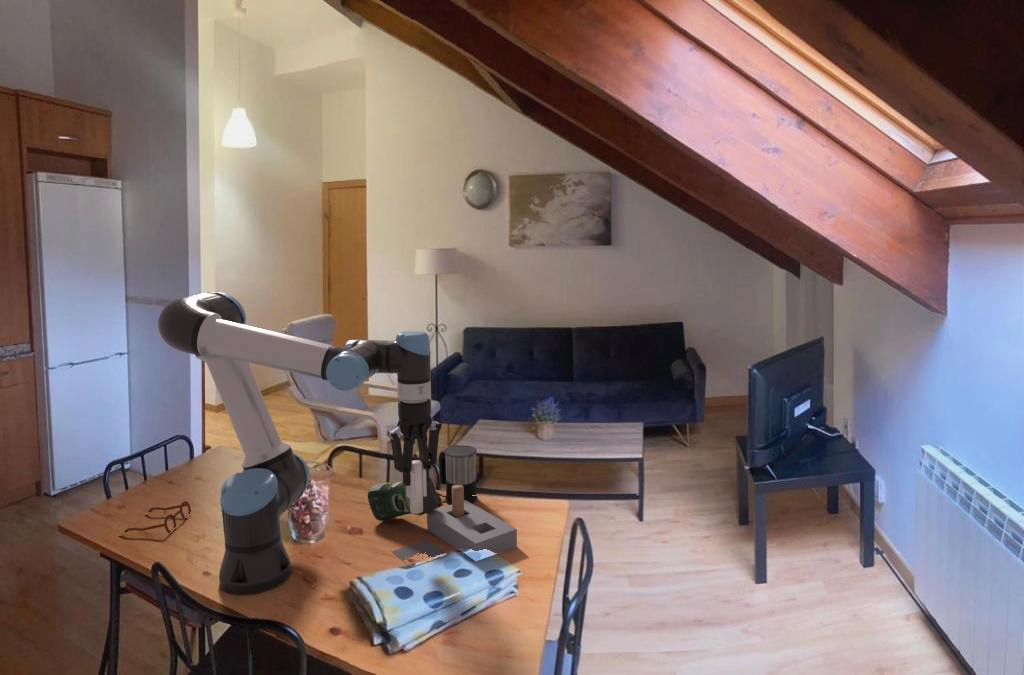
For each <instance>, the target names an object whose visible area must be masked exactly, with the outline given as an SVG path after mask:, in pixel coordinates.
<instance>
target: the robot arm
mask: <svg viewBox="0 0 1024 675" xmlns="http://www.w3.org/2000/svg"><path fill="white" fill-rule="evenodd" d="M245 312H246V311H245V309H244V307H243V305H242V304H241V303H240V301H238V299H237V298H236V297H234V296H232V295H230V294H228V293H226V292H221V291H220V292H219V291H216V292H214V291H207V292H203V293H199V294H196V295H191V296H185V297H180V298H176V299H174V300H172V301H171V302H169V303H168V304H167V305H165V306H164V307H163V309H162V310H161V311H160V313H159V314H160V315H159V316H158V321H157V325H158V332H159V334H160V336H161V338H162V339H163V341H164V342H165V343H166V344H167V345H168V346H170V347H171V348H172V349H175V350H176V351H179V352H183V353H187V354H191V355H194V356H195V357H196V359H197V360H199V361H202V362H204V363H206V365H207V366H206V367H207V368H208V369H209V373H210V375H211V378H212V380H213V382H214V385H215V387H216V389H217V391H218V392H217V393H219V396H220V399H221V401H222V404H223V405H224V408H225V411H226V413H227V415H228V418H229V420H230V422H231V425H232V427H233V430H234V433H235V434H236V437H237V439H238V442H239V444H240V447H241V449H242V452H243V454H244V460H243V462H242V465H241V467H242V469H243V470H242V471H241V472H236V473H235V474H232V475H231V476H229V477H228V478H227V479H226V480H225V481H224V482H223V483H222V485H221V489H220V500H219V501H220V507H221V508H220V509H221V516H222V527H223V528H222V529H223V537H224V548H225V549H224V554H223V557H222V560H221V564H220V569H219V573H218V580H219V586H220V588H221V590H222V591H225V592H226V593H229V594H233V595H253V594H259V593H262V592H267V591H269V590H273V589H274V588H277V587H278V586H281V584H283V583H285V582H286V581H287V580H288V579H289V578H290V576H291V574H292V561H291V558H290V556H289V554H288V552H287V549H286V548H285V546H284V543H283V541H282V537H281V536H282V535H281V534H282V533H281V520H280V517H281V516H282V515H283V514H284V513H285V512H287V511H288V509H290V507H291V506H293V504H294V503H296V502H298V501H299V500H300V499H301V498H302V496H303V494H304V493H305V492H304V491H306V490H307V488H308V486H309V483H310V477H311V476H310V469H309V466H308V463H307V462H306V461H305V460H304V458H303V457H302V456H299V455H298V454H297V453H295V452H293V449H292V447H291V445H290V444H289V443H286V442H283V441H282V440H281V438H280V436H279V433H278V430H277V428H276V426H275V423H274V421H273V419H272V416H271V414H270V411H269V408H268V406H267V404H266V401H265V399H264V396H263V394H262V391H261V389H260V387H259V384H258V382H257V380H256V377H255V375H254V372H253V369H252V367H251V365H250V364H254V365H257V366H258V365H259V366H263V367H267V368H271V369H275V370H280V371H285V372H287V373H292V374H293V373H294V374H296V375H302V376H305V377H310V378H313V379H314V378H315V379H319V380H322V381H326V382H329V384H330V385H331V386H332V387H333V388H335V389H337V390H339V391H345V392H346V391H352V390H353V389H357V388H358V387H359V386H362V385H363V384H364V383H365V382H366V381H367V380H368V379H370V378H371V377H372V376H373V375H375V374H392V375H393V374H396V378H397V380H396V381H397V399H398V401H397V411H398V412H397V413H398V415H397V416H398V422H397V424H396V425H397V426H396V427H395V428H393V429H392V430H391V429H389V430H388V431H387V432H386V433H387V437H389V439H390V444H391V445H390V446H391V450H392V451H391V452H392V459H393V465H394V469H395V470H396V471H398V472H399V473H402V482H403V484H404V485H405V486H406V496H407V497H408V498H410V499H411V500H414V499H415V482H414V472H411V468H412V461H413V456H414V455H413V453H414V445H415V442H416V441H417V449H418V455H419V461H422V480H423V496H424V497H425V496H427V488H426V481H428V480H429V477H430V470H431V469H432V465H435V464H437V461H438V460H437V458H438V448H439V436H440V432H441V430H442V426H443V424H442V423H441V422H438V421H436V420H433V418H432V417H431V415H432V401H431V399H430V398H431V397H432V395H431V394H432V393H431V392H432V391H431V389H432V388H431V387H432V386H431V354H432V351H431V347H430V336H429V335H428V333H426V332H424V331H421V330H404V331H399V332H398V333H397V334H396V336H395V337H396V338H395V339H393V340H384V339H383V340H377V339H364V338H360V339H350V340H347V341H346V342H345V344H344V346H343V347H340V346H336V345H333V344H330V343H324V342H321V341H320V342H319V341H315V340H311V339H307V338H303V337H299V336H294V335H291V334H285V333H282V332H278V331H273V330H270V329H264V328H259V327H257V326H256V327H255V326H251V325H247V324H246V321H247V317H246V313H245ZM401 434H402V441H403V447H402V442H401V439H400V438H401Z"/></svg>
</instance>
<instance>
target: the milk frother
mask: <svg viewBox="0 0 1024 675" xmlns="http://www.w3.org/2000/svg"><path fill="white" fill-rule="evenodd" d="M477 453H478V449H477V448H476V447H474V446H472V445H464V444H463V445H462V444H460V445H459V444H458V445H453V446H448V447H447V448H445V449H444V450H442V451H440V453H439V455H438V467H439V471H438V472H439V482H440V484H441V485H446V486H445V487H446V488H445V492H446V493H445V495H443V494H441V493H440V492H438V491H436V493H437V496H438V506H437V507H436V508H438V507H440V506H441V504H442V497H443V498H445V499H444V500H445V502H446V503H448V504H449V505H452V486H454V485H463V486H464V501H465V500H466V501H468V502H470V503H472V504H473V505H474V504H475V503H476V502H477V501H478V500H479V498H478V495H477V494H478V493H477ZM472 495H477V496H472Z"/></svg>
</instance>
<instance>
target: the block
mask: <svg viewBox="0 0 1024 675" xmlns="http://www.w3.org/2000/svg"><path fill="white" fill-rule="evenodd" d="M426 524H427V525H426V526H427V527H426V528H427V529H426V530H428V531H429V532H431V533H432V534H434V535H435V536H436V537H438V538H440V539H441V540H442V541H444V542H446V543H447V544H449V545H450V546H451V547H453V548H454V549H456V550H457V549H472V550H474V551H479V550H483V549H487V550H490V551H492V552H494V553H497V555H500V554H502V553H505V552H507V551H510V550H512V549H516V548H518V534H517V533H518V529H517V528H516V527H515V526H512V525H511V524H509V523H508V522H505V521H504V520H502V519H500V518H498V517H497V516H495V515H493V514H491V513H489V512H487V511H486V510H484V509H482V508H480V507H479V506H477V505H475V504H474V503H473V504H472V503H470V502H468V501H466V500H465V501H464V486H463V485H454V486H452V505H451V504H449V505H446V506H443V507H439V508H435V509H434V510H433V511H431V512H429V513H426ZM504 551H505V552H504ZM499 553H500V554H499Z"/></svg>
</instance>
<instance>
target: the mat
mask: <svg viewBox="0 0 1024 675" xmlns="http://www.w3.org/2000/svg"><path fill="white" fill-rule="evenodd" d="M425 552H426V553H425ZM391 553H392V554H393V555H395V556H396V557H397V558H399V559H400V560H401V561H402V562H403V561H404V560H406V559H407V558H409V557H410V558H411V557H413V556H414V555H416V554H417V553H419V554H421V553H422V554H424V553H425V554H427V555H428V557H430V556H431V557H435V556H436V555H440V554H444V553H447V551H444V550H443V549H441V547H439V546H438V545H436V544H435V543H433V542H431V541H430V540H429V539H424V540H422V541H418V542H415V543H413V544H410V545H407V546H404V547H401V548H397V549H395V550H392V551H391ZM419 554H418V555H419ZM418 555H417V556H418ZM406 557H407V558H406ZM405 558H406V559H405ZM422 559H423V558H422ZM408 560H409V559H408Z"/></svg>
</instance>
